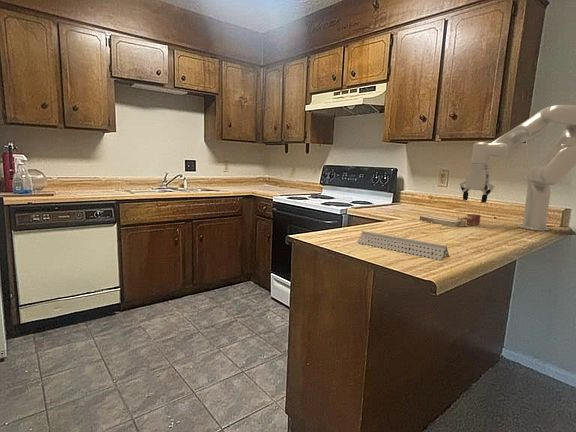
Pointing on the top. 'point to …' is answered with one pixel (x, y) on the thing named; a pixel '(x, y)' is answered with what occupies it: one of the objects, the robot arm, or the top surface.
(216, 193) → the top surface
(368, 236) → the corner bead
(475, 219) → the gauge
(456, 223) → the board
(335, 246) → the top surface
